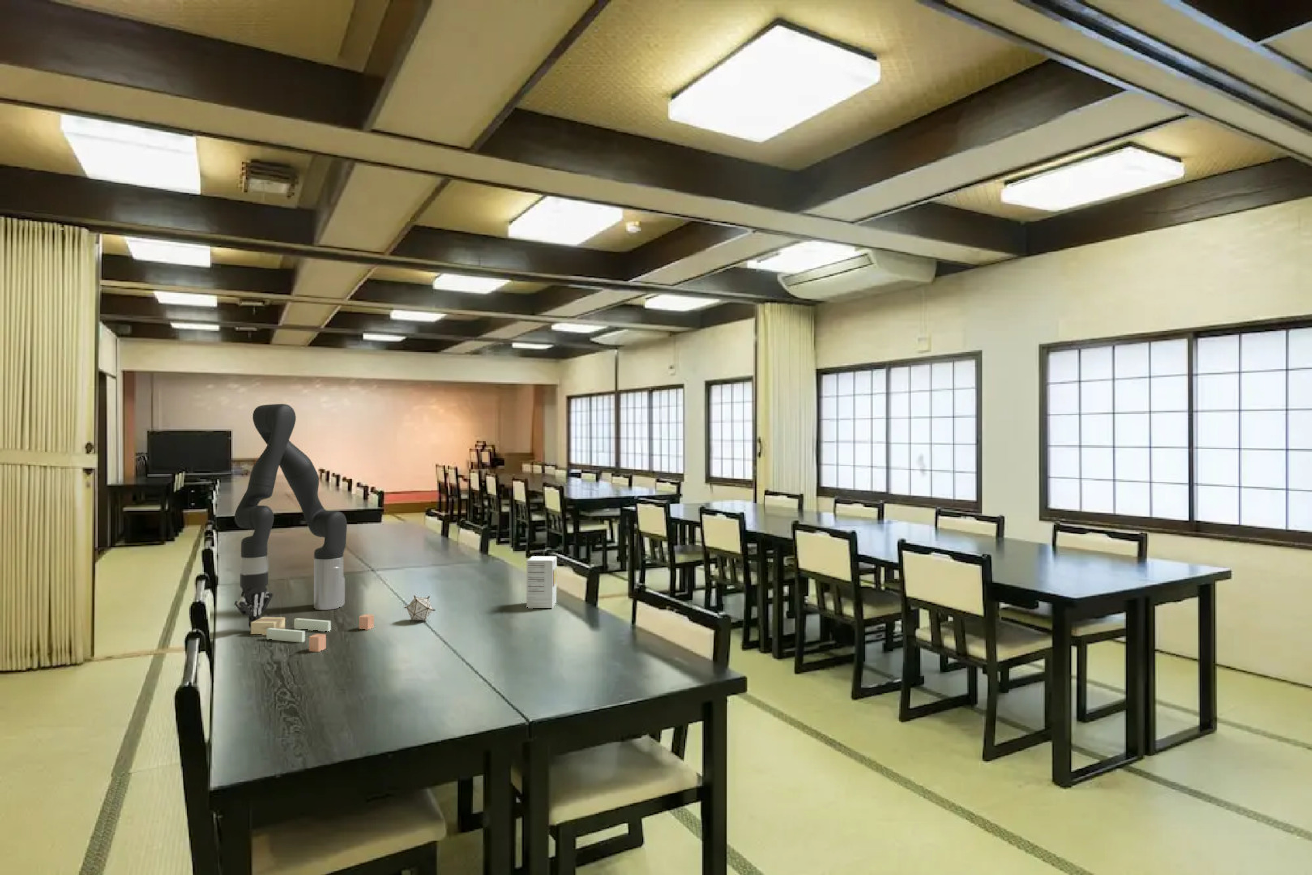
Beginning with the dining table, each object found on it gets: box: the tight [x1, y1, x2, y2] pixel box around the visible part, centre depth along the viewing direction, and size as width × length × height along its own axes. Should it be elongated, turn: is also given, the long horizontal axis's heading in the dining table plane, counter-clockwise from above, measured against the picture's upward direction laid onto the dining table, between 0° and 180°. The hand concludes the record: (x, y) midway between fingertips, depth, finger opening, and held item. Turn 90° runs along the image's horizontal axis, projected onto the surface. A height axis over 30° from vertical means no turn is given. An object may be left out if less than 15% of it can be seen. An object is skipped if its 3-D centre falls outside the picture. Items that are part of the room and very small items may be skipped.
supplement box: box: [526, 555, 558, 609], centre depth 252 cm, size 10×9×17 cm
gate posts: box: [308, 614, 375, 653], centre depth 210 cm, size 25×3×4 cm, turn 167°
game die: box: [403, 595, 436, 623], centre depth 230 cm, size 9×8×10 cm
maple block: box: [250, 616, 286, 636], centre depth 216 cm, size 6×7×4 cm
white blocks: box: [266, 617, 332, 643], centre depth 214 cm, size 12×12×3 cm
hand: (254, 627), depth 218 cm, fingers closed
